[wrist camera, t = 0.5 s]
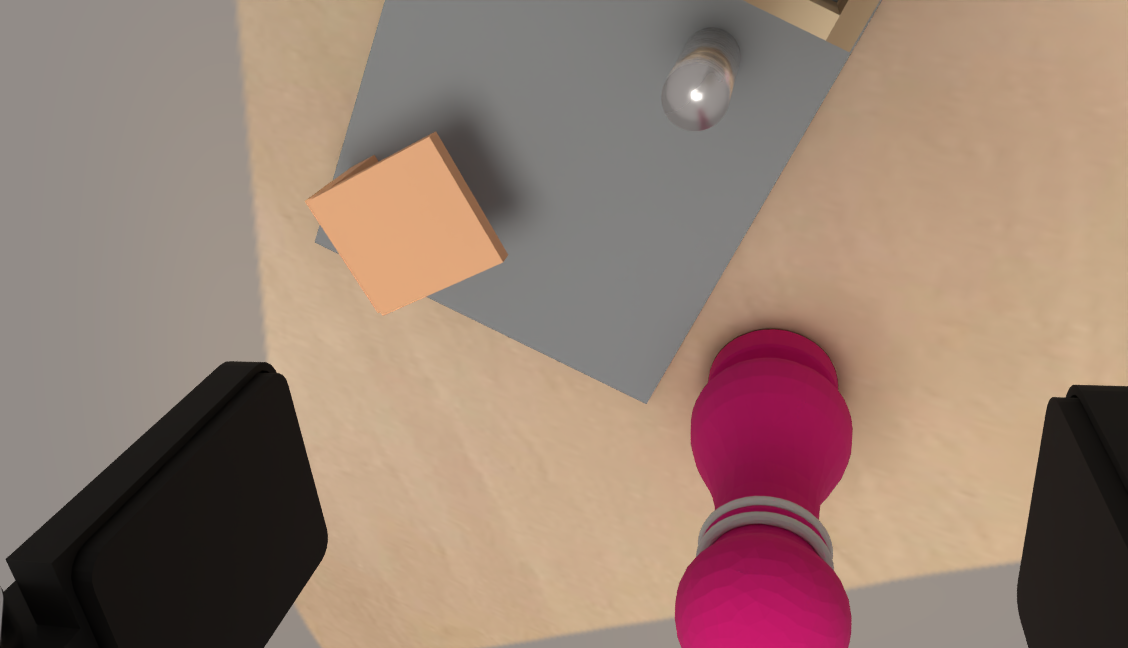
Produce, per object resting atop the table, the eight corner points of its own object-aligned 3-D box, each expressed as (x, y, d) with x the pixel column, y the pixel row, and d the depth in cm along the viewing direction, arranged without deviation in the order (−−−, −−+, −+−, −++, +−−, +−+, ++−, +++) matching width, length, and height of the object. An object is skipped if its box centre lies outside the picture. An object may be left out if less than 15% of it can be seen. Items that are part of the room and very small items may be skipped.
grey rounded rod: (698, 17, 37) (679, 51, 31) (750, 43, 37) (741, 81, 31) (673, 70, 39) (650, 113, 33) (723, 95, 39) (710, 142, 33)
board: (525, -462, 32) (521, -468, 31) (1010, -225, 32) (1013, -226, 31) (319, 237, 47) (314, 242, 47) (648, 397, 47) (646, 404, 47)
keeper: (476, 98, 42) (429, 136, 37) (538, 210, 44) (503, 262, 38) (355, 163, 45) (296, 207, 39) (419, 266, 47) (371, 320, 41)
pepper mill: (677, 408, 47) (607, 734, 30) (736, 295, 44) (696, 593, 26) (805, 464, 47) (809, 823, 30) (875, 355, 43) (927, 695, 26)
